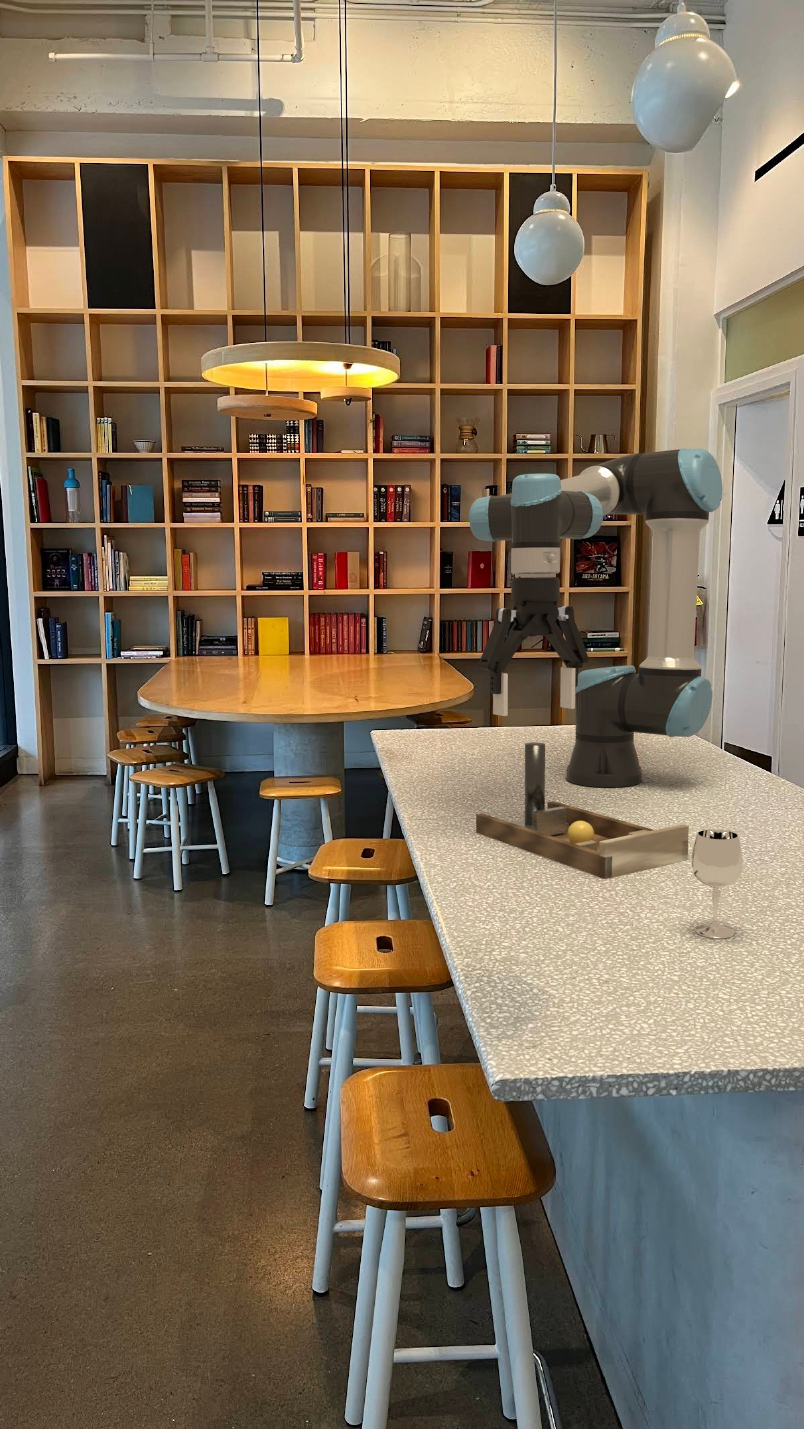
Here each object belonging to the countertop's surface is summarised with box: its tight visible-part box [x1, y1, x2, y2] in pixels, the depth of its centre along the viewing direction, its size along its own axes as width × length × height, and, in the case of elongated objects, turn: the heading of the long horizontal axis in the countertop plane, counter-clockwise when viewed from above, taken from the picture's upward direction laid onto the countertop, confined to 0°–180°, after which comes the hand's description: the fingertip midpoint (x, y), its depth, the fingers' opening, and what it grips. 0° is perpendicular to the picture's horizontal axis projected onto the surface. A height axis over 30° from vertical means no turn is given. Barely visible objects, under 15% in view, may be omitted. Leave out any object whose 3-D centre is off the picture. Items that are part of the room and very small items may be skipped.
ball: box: [568, 821, 594, 844], centre depth 155 cm, size 4×4×4 cm
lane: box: [475, 800, 690, 880], centre depth 156 cm, size 30×16×6 cm, turn 32°
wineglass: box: [691, 829, 744, 940], centre depth 121 cm, size 6×6×12 cm
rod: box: [509, 741, 568, 835], centre depth 163 cm, size 7×9×14 cm
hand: (534, 711), depth 162 cm, fingers open, 13 cm apart
